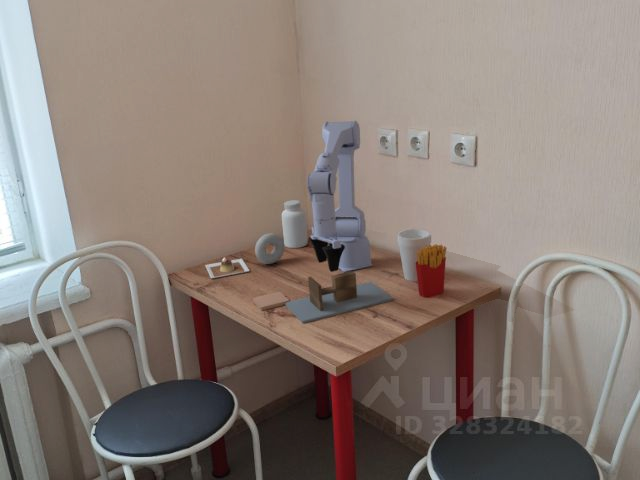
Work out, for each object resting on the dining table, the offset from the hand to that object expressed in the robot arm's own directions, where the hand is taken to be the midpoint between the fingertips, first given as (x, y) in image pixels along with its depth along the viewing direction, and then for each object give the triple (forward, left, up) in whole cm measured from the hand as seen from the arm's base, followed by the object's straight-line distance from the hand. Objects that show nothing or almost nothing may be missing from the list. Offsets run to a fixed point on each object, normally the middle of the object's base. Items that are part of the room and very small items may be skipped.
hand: (328, 266), depth 173 cm
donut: (+5, -35, -10) cm, 37 cm away
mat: (-1, +3, -10) cm, 10 cm away
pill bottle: (-8, -47, -10) cm, 49 cm away
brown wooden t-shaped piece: (0, +3, -9) cm, 10 cm away
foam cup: (-27, -1, -10) cm, 29 cm away
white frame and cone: (+18, -38, -11) cm, 44 cm away
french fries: (-25, +11, -10) cm, 29 cm away
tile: (+11, -7, -10) cm, 16 cm away
